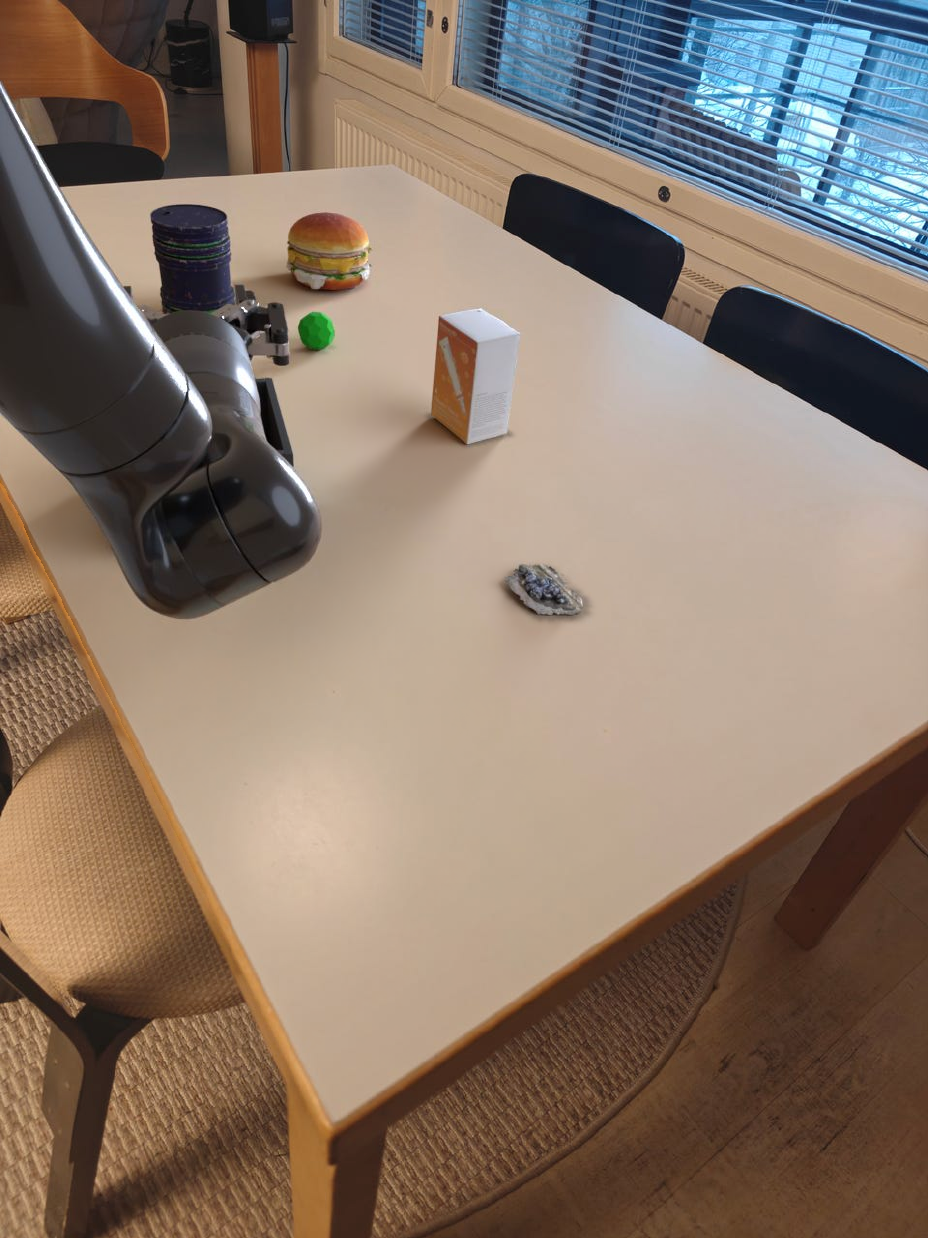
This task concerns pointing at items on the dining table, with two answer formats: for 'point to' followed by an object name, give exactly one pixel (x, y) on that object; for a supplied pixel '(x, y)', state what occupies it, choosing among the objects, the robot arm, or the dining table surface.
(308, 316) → the polyhedron
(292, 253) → the burger
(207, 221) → the navy striped cylinder
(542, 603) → the grey flat lumpy piece
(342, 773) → the dining table surface
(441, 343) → the small box
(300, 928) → the dining table surface
